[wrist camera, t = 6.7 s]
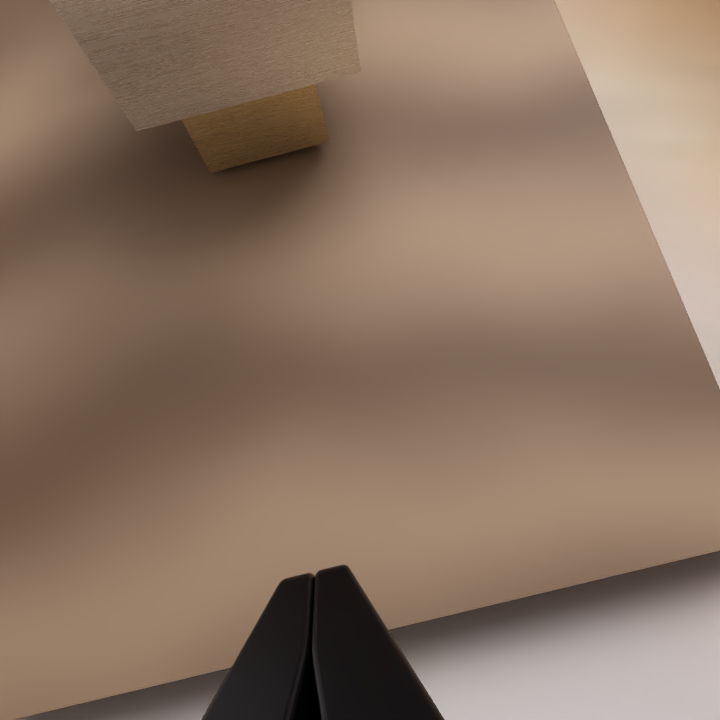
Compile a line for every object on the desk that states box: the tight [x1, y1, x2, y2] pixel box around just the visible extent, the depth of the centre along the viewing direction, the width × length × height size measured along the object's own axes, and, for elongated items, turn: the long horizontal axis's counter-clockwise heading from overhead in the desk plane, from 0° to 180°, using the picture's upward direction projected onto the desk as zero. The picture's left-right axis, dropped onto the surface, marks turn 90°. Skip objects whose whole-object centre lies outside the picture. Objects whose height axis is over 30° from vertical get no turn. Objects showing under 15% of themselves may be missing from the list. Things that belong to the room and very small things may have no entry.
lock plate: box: [0, 0, 720, 720], centre depth 16 cm, size 22×16×5 cm
